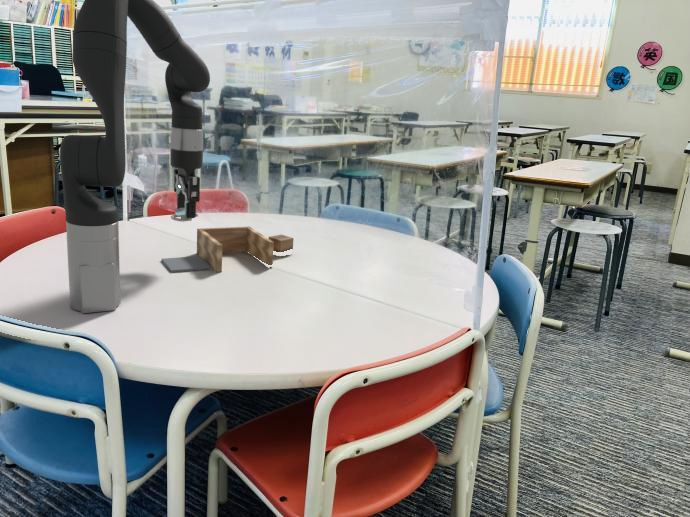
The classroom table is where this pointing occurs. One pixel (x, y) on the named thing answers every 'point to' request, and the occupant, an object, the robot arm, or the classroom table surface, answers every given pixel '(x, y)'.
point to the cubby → (232, 244)
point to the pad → (186, 264)
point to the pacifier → (181, 214)
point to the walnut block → (282, 243)
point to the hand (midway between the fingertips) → (186, 214)
